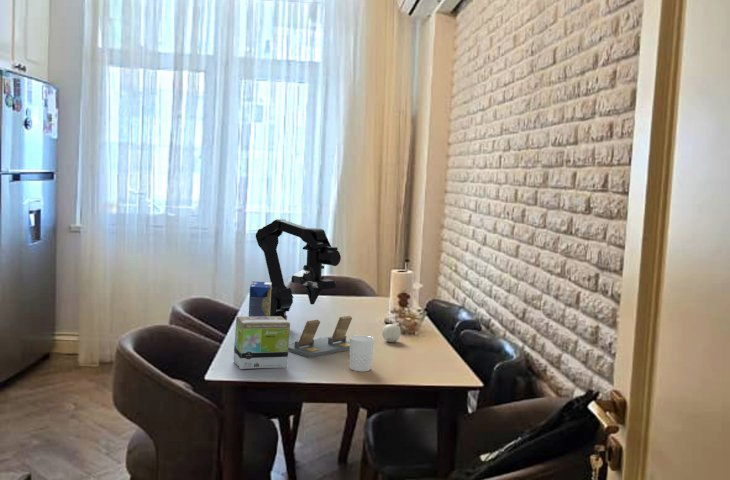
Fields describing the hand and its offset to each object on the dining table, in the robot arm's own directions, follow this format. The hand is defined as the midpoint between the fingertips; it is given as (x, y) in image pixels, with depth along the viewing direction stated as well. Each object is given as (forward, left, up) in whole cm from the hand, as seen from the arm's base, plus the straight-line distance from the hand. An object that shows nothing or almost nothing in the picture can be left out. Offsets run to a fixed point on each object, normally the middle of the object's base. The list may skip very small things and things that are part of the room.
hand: (312, 304), depth 263 cm
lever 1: (+2, -21, -10) cm, 23 cm away
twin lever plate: (+7, -16, -12) cm, 21 cm away
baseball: (+30, +2, -12) cm, 33 cm away
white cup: (+23, -37, -12) cm, 45 cm away
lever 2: (+12, -11, -10) cm, 19 cm away
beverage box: (-14, -23, -12) cm, 30 cm away
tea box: (-8, -43, -12) cm, 45 cm away
